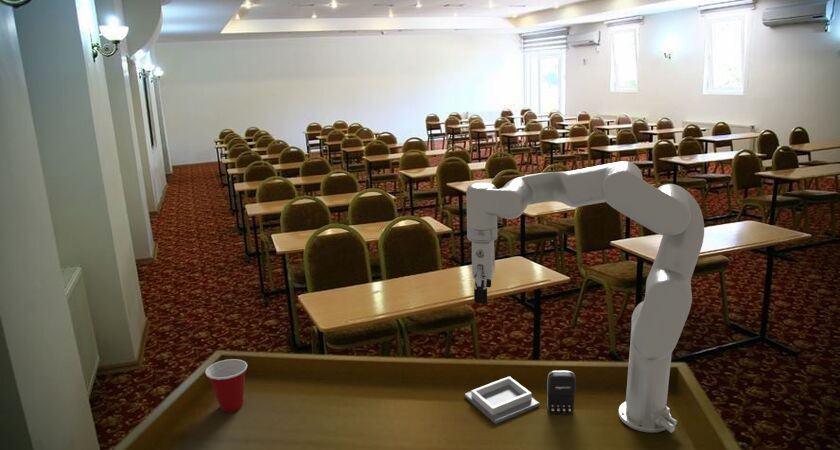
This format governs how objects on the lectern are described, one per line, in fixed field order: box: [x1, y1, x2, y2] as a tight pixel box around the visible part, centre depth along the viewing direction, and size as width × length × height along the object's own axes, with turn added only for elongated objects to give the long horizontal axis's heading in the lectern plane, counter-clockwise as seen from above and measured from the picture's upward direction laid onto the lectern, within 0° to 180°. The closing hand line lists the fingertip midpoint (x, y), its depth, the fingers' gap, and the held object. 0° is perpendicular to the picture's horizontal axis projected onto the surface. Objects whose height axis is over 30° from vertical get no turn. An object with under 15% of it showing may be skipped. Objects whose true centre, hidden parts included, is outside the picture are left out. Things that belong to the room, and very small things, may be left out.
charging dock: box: [464, 375, 540, 425], centre depth 165 cm, size 14×14×3 cm
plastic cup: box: [204, 358, 248, 413], centre depth 167 cm, size 11×11×12 cm
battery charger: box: [546, 369, 577, 415], centre depth 158 cm, size 7×4×11 cm, turn 85°
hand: (483, 294), depth 161 cm, fingers open, 9 cm apart
